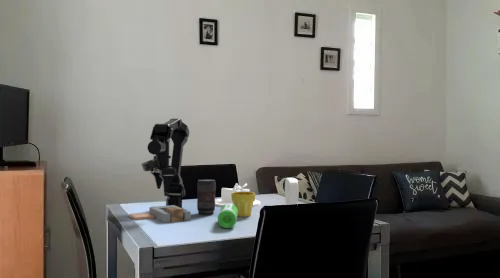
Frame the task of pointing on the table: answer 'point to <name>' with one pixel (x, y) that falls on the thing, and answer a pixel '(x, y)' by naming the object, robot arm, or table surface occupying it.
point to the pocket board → (164, 216)
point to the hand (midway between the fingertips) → (162, 190)
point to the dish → (228, 192)
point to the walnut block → (175, 213)
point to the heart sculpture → (291, 191)
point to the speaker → (228, 215)
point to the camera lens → (206, 197)
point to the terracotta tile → (141, 216)
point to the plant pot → (243, 202)
